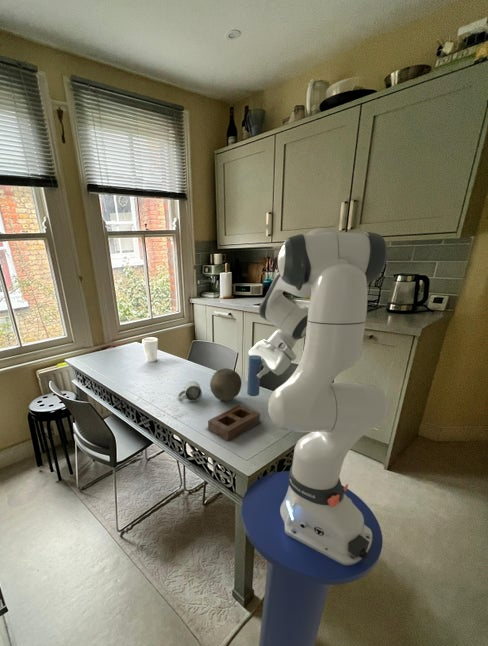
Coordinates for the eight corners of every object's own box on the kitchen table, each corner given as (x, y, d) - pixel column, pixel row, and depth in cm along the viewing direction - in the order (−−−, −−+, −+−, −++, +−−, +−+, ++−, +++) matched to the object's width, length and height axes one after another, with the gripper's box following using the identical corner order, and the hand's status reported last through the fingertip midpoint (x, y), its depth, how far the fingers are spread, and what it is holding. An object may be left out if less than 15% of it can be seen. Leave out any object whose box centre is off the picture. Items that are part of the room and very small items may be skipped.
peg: (261, 393, 122) (263, 357, 116) (254, 397, 119) (256, 360, 113) (252, 390, 125) (254, 354, 119) (244, 393, 122) (246, 357, 116)
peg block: (259, 422, 126) (260, 413, 124) (227, 440, 115) (227, 431, 113) (239, 412, 133) (239, 404, 131) (208, 429, 122) (208, 420, 121)
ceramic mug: (199, 392, 151) (199, 378, 148) (202, 400, 144) (201, 385, 140) (177, 394, 150) (176, 380, 147) (179, 402, 143) (177, 387, 140)
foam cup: (162, 359, 195) (160, 338, 189) (151, 363, 188) (150, 342, 183) (151, 356, 200) (149, 336, 195) (140, 360, 194) (138, 340, 189)
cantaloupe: (205, 395, 148) (205, 366, 142) (234, 391, 151) (234, 362, 145) (215, 410, 136) (215, 378, 129) (246, 405, 139) (247, 373, 132)
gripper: (259, 333, 124) (235, 360, 126) (289, 348, 107) (262, 379, 108) (268, 342, 128) (245, 368, 129) (299, 359, 110) (272, 389, 111)
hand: (253, 373), depth 119 cm, fingers closed on peg, 4 cm apart
